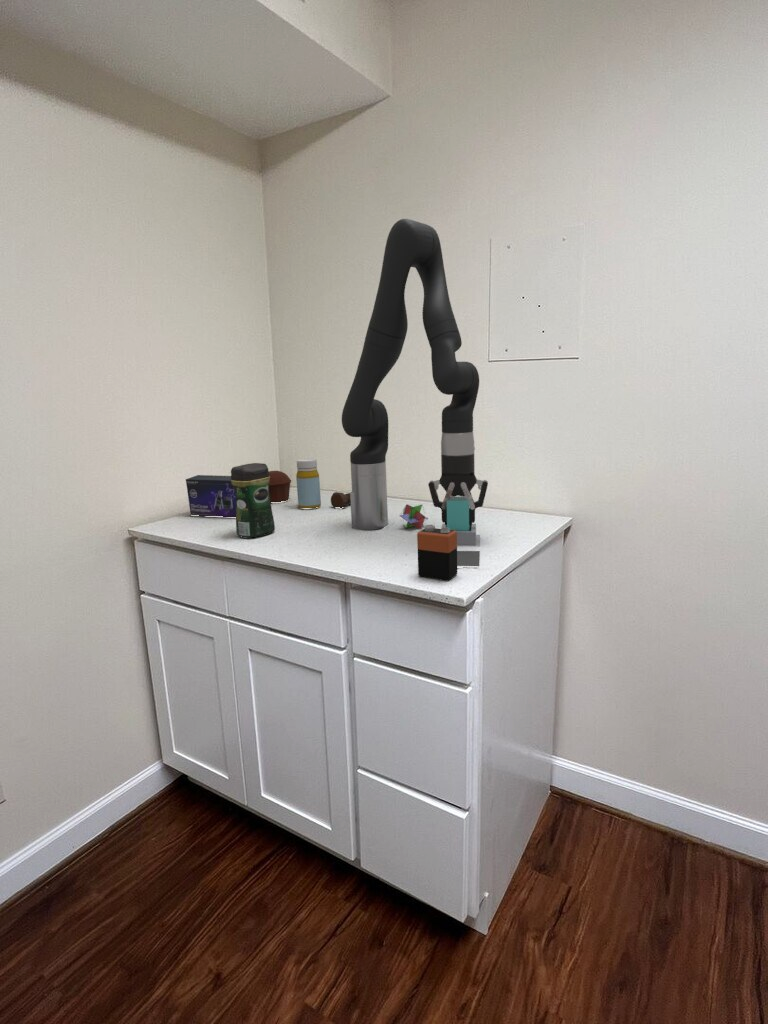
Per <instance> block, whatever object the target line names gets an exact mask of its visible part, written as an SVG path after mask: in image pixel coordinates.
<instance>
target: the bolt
mask: <svg viewBox="0 0 768 1024" xmlns="http://www.w3.org/2000/svg"><path fill="white" fill-rule="evenodd" d="M350 493H351V492H348V493H344V492H338V491H336V492H333V493H332V495H331V497H330V505H331V506H332V508H333V507H340V508H342V507H346V505H349V504H351V501H350Z"/></svg>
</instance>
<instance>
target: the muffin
mask: <svg viewBox="0 0 768 1024" xmlns="http://www.w3.org/2000/svg"><path fill="white" fill-rule="evenodd" d="M268 471H269V475H270V480H269V496H270V502H281V501H286V500H288V499H289V500H290V490H291V489H290V488H291V483H292V480H291V479H290V477H289V476H288V474H286V473H285V472H283V471H281V470H268ZM286 502H287V501H286Z"/></svg>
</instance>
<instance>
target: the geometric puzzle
mask: <svg viewBox="0 0 768 1024" xmlns="http://www.w3.org/2000/svg"><path fill="white" fill-rule="evenodd" d="M422 508H423V511H424V514H422V513H421V511H422ZM425 514H426V511H425V508H424V505H423V504H420V503H419V504H415V506H412V505H411V504H407V503H406V504H405V506H404V507H403V509H402V511H401V513H400V515H399V518H400V520H402V521H403V522H405V521H406V522H407V523H406V527H405V524H402V525H403V527H405V529H409V528H412V527H415V528H417V529H419V530H423V527H424V526H425V524H426V523H425V521H428V519H429V517H428V516H426V515H425ZM401 518H402V519H401ZM404 520H405V521H404Z"/></svg>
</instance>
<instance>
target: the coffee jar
mask: <svg viewBox="0 0 768 1024" xmlns="http://www.w3.org/2000/svg"><path fill="white" fill-rule="evenodd" d="M269 471H270V470H269V468H268V465H267V464H266V463H260V462H253V463H246V464H241V465H236V466H232V467H231V469H230V476H231V483H232V485H233V487H234V490H235V497H236V519H235V528H236V535H237V536H239V537H240V536H242V537H241V538H243V537H249V538H251V537H255V538H258V537H257V536H260V537H263V536H266V535H269V534H271V532H272V533H274V532H275V530H276V525H275V520H274V514H273V509H272V504H271V502H270V496H269V480H270V475H269ZM265 534H266V535H265ZM262 535H263V536H262Z"/></svg>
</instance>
